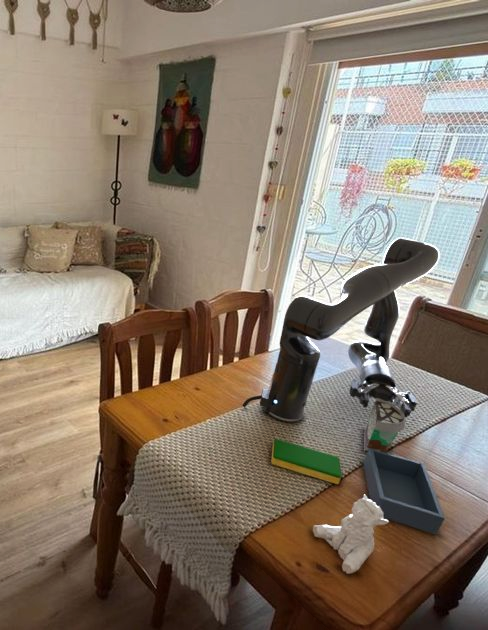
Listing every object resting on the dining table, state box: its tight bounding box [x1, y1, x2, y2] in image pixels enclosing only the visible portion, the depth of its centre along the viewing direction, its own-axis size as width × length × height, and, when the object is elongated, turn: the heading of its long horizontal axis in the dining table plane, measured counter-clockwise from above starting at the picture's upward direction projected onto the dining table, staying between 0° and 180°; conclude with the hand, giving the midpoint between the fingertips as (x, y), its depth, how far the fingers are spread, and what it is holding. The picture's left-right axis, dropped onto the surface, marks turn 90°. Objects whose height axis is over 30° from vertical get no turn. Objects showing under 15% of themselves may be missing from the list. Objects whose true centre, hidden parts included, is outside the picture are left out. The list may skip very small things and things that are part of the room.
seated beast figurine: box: [312, 493, 390, 575], centre depth 80 cm, size 10×9×12 cm
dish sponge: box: [270, 438, 342, 485], centre depth 102 cm, size 7×14×2 cm, turn 64°
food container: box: [363, 398, 406, 454], centre depth 107 cm, size 12×6×10 cm, turn 148°
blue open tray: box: [362, 448, 446, 536], centre depth 93 cm, size 11×17×4 cm, turn 154°
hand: (385, 409), depth 110 cm, fingers open, 8 cm apart
